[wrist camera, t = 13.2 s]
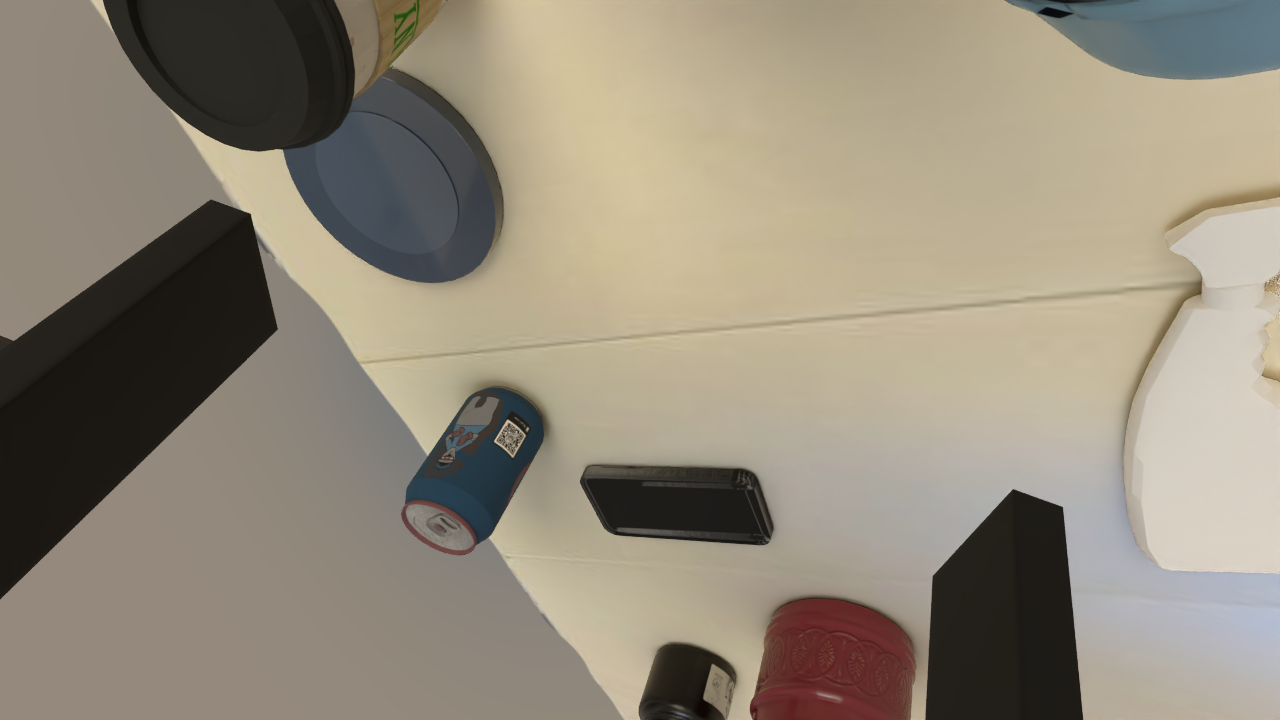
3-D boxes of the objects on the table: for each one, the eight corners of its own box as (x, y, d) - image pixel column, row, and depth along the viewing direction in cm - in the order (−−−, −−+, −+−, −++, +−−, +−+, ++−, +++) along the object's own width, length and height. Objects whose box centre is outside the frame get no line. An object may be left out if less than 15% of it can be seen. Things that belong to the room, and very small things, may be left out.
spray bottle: (1124, 535, 50) (1108, 209, 37) (1343, 539, 45) (1415, 161, 32) (1130, 572, 48) (1116, 241, 35) (1360, 581, 43) (1445, 196, 30)
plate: (274, 28, 45) (260, 36, 44) (509, 106, 43) (499, 116, 42) (309, 233, 56) (298, 242, 55) (499, 301, 54) (490, 312, 53)
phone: (773, 546, 61) (607, 535, 67) (776, 534, 62) (611, 524, 68) (750, 479, 56) (575, 474, 63) (753, 468, 57) (580, 464, 64)
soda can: (517, 450, 65) (449, 568, 57) (456, 397, 63) (376, 512, 55) (566, 425, 61) (501, 549, 53) (503, 368, 59) (424, 487, 50)
